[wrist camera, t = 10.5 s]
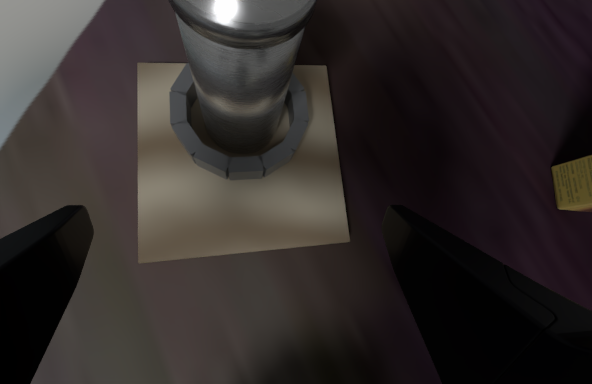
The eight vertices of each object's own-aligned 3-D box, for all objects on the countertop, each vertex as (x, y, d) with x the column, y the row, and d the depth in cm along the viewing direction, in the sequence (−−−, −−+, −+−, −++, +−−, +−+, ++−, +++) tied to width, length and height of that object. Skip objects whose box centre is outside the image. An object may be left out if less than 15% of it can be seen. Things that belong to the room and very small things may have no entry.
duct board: (345, 242, 22) (350, 241, 22) (143, 263, 20) (138, 263, 19) (323, 72, 25) (326, 65, 24) (142, 71, 22) (137, 62, 22)
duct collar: (308, 175, 22) (314, 168, 20) (178, 183, 20) (171, 175, 18) (295, 65, 24) (300, 48, 22) (174, 63, 22) (168, 44, 20)
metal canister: (291, 139, 22) (351, 1, 10) (221, 167, 21) (196, 46, 9) (260, 76, 23) (281, -123, 11) (190, 99, 22) (127, -99, 10)
